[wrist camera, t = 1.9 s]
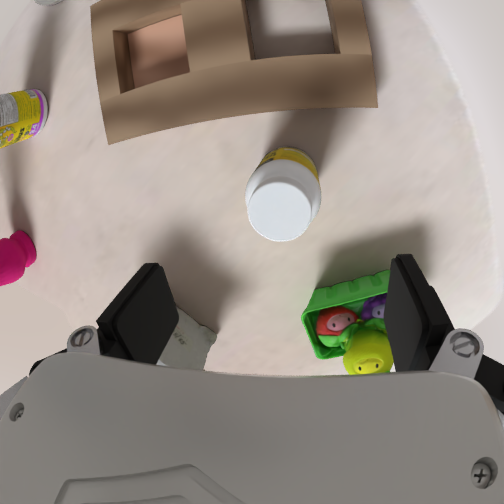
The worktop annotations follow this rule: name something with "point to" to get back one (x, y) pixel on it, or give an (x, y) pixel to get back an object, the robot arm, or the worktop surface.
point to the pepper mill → (15, 256)
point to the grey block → (187, 344)
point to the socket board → (216, 65)
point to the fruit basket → (351, 324)
